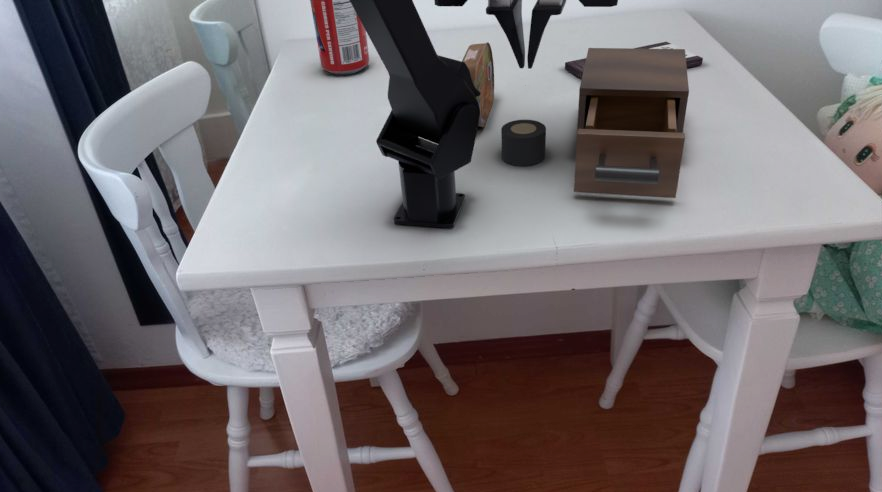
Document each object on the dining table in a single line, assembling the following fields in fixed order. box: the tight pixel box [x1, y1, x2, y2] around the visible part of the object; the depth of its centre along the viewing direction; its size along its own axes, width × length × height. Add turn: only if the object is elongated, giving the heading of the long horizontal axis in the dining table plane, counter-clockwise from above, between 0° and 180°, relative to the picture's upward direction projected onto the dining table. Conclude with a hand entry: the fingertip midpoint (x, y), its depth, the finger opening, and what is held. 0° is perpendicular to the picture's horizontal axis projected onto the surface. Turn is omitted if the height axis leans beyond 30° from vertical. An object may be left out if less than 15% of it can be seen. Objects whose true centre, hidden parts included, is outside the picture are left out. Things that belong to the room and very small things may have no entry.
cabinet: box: [575, 47, 690, 145], centre depth 84 cm, size 14×12×9 cm
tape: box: [500, 119, 547, 167], centre depth 83 cm, size 5×5×4 cm
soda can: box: [309, 0, 370, 76], centre depth 109 cm, size 8×8×15 cm
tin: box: [461, 42, 495, 128], centre depth 93 cm, size 15×3×8 cm, turn 168°
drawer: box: [573, 95, 686, 199], centre depth 74 cm, size 17×10×7 cm, turn 166°
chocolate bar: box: [564, 41, 704, 80], centre depth 105 cm, size 9×1×18 cm
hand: (526, 67), depth 77 cm, fingers closed
